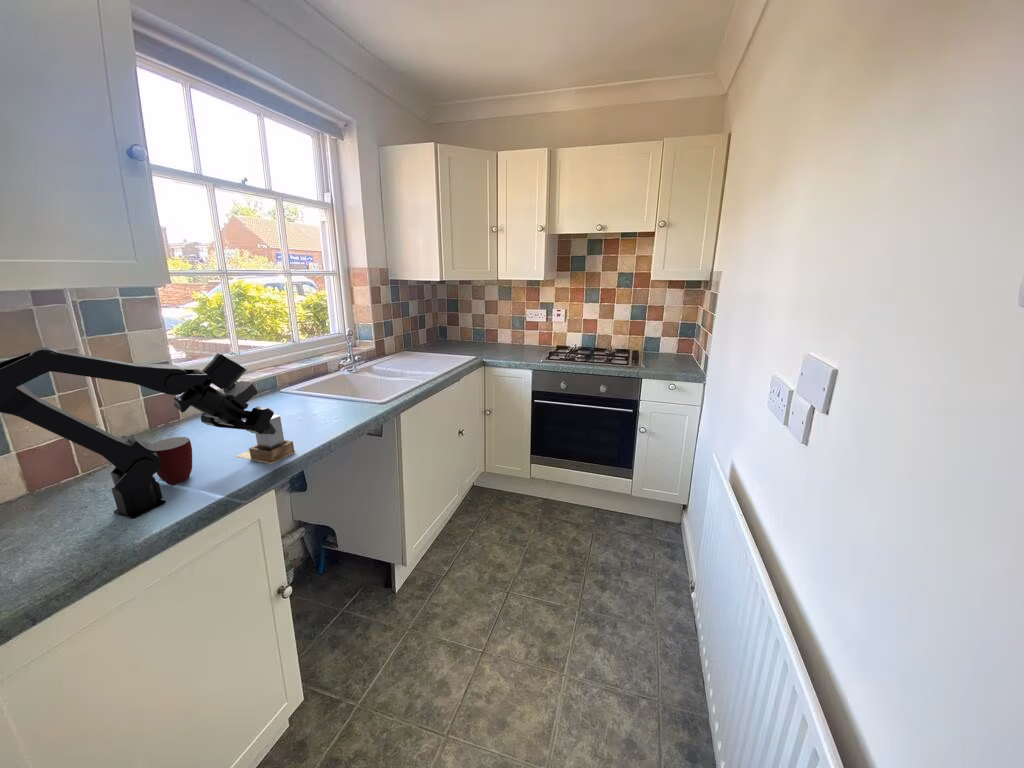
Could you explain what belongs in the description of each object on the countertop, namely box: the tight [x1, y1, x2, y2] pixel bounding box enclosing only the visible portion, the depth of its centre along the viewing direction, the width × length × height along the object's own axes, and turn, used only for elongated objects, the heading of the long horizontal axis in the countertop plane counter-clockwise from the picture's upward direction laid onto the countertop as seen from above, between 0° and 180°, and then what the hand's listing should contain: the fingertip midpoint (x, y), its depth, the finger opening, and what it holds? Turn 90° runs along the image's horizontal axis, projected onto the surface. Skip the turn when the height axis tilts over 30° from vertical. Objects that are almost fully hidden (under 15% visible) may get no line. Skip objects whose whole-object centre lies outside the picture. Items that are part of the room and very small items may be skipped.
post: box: [255, 414, 285, 451], centre depth 111 cm, size 4×4×11 cm
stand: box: [234, 439, 297, 465], centre depth 113 cm, size 8×13×4 cm, turn 71°
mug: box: [151, 436, 193, 486], centre depth 99 cm, size 11×8×10 cm
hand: (261, 430), depth 109 cm, fingers open, 9 cm apart
